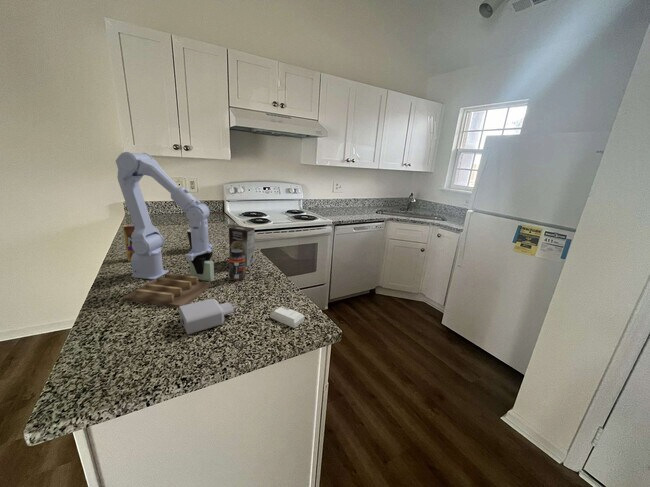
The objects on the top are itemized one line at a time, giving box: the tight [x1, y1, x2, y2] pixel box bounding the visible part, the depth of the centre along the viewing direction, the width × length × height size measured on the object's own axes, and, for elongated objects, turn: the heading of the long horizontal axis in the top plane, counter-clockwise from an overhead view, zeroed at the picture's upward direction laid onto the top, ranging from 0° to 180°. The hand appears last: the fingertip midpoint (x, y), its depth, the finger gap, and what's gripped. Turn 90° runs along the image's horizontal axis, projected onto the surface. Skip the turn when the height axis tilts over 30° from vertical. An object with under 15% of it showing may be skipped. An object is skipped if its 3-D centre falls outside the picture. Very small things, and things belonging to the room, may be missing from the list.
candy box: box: [122, 223, 135, 262], centre depth 114 cm, size 9×4×15 cm, turn 126°
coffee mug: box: [186, 228, 192, 250], centre depth 132 cm, size 12×9×10 cm
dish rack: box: [121, 272, 212, 309], centre depth 90 cm, size 20×16×4 cm
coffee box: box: [228, 225, 256, 267], centre depth 118 cm, size 9×6×16 cm
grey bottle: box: [178, 298, 239, 335], centre depth 77 cm, size 5×9×15 cm
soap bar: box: [269, 305, 305, 329], centre depth 80 cm, size 5×9×3 cm, turn 60°
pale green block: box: [188, 260, 215, 282], centre depth 101 cm, size 8×2×7 cm, turn 83°
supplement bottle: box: [228, 249, 246, 282], centre depth 103 cm, size 6×6×11 cm
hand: (202, 272), depth 102 cm, fingers closed on pale green block, 2 cm apart
